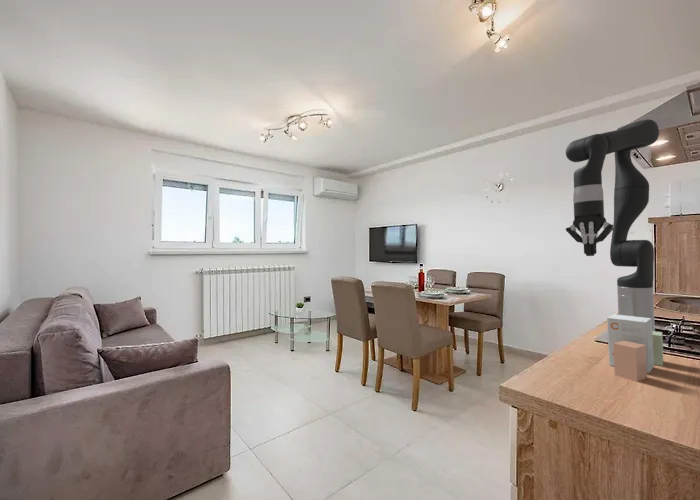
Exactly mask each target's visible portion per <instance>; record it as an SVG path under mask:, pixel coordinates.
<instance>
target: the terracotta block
mask: <svg viewBox="0 0 700 500" xmlns="http://www.w3.org/2000/svg"><path fill="white" fill-rule="evenodd" d="M613 367H614V376H615V377H616V376H617V377H618V378H619V377H620V378H623V379H627V380H630V381H633V382H636V383H638V382H640V381H643V380H645V379H647V377H648V376H647V375H648V373H647V369H646V345H643V344H638V343H633V342H628V341H620V342H617V343H614V366H613Z"/></svg>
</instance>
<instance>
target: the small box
mask: <svg viewBox="0 0 700 500" xmlns="http://www.w3.org/2000/svg"><path fill="white" fill-rule="evenodd" d="M606 321H607V323H606V324H607V345H608V346H607V347H608V364H609V366H612V367H614V343H617V342H620V341H628V342H633V343H638V344H643V345H646V369H647V374H650V372H651V371H652V370H653V368H654V367H655V365H654V353H653V333H652V318H644V317H635V316H626V315H618V314H615V313H614V314H611V315H610V316H608V317H607V318H606Z"/></svg>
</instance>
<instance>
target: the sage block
mask: <svg viewBox="0 0 700 500" xmlns="http://www.w3.org/2000/svg"><path fill="white" fill-rule="evenodd" d="M652 333H653V353H654V366H655V365H656V366H660V367H663V365H664V344H663V343H664V341H663V338H664V337H663V332H662V331H656V330H655V331H652Z"/></svg>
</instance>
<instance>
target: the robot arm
mask: <svg viewBox="0 0 700 500" xmlns="http://www.w3.org/2000/svg"><path fill="white" fill-rule="evenodd" d="M659 135H660V130H659V125H658V123H657V122H656V121H654V120H653V119H649V118H647V119H642V120H638V121H635V122H632V123H629V124H626V125H622V126H621V127H618V128H617V129H616V130H611V131H605V132H603V133H595V134H591V135H589V136H585V137H582V138H578V139H575V140H573V141H571V142H570V143H568V145H567V146H566V149H565V156H566V158H567V160H569V161H571V162H573V163H580V162H584V161H587V162H586V164H585V165H583V166H582V167H580V168H579V167H578V168H577V169H576V170H575V171H574V172H573V194H572V195H573V199H572V200H573V218H574V219H573V221H572V224H571V225H570V226H569V227H566V228H565V232H567V233H568V235H570V236H571V238H573V239H574V241H575V242H576V243H581V244H582V245H583V253H584V255H585V256H586V257H593V256H594V257H595V254H597V244H598V243H600V242H603V241H604V240H605V239H606V238H607V237H608V236H609V234H611V242H610V246H609V247H610V250H609V257H610V261H611V264H613V266H615V267H633V268H636V271H635V272H633V273H631V274H628V275H623V276H620V277H618V278H617V280H616V285H617V286H616V287H617V291H616V292H617V315H626V316H635V317H644V318H652V331H656V327H655V324H656V323H655V299H654V297H655V296H654V267H655V265H654V264H655V263H654V262H655V249H654V245H653V243H652V242H651V241H650V240H649V239H629V240H628V235H629V231H630V230H631V229H630V228H631V227H632V226H633V223H634V222H635V221H636V220H637V219H638V218H639V217H640V216H641V214H642V212H644V210H645V209H647V207H648V205H649V201H650V183H649V180H648V179H647V178H646V177H645V176H644V175H643V173H642V172H640V170H639V169H637V168H636V166H635V165H634V164H633V162H632V157H631V152H632V151H634V150H638V149H642V148H646V147H648V146H651V145H653V144H655V142H657V140H658V139H659ZM612 153H614V163H615V164H614V165H615V171H614V172H615V173H614V189H613V191H614V192H613V224H611V223H609V222H607V218H606V217H605V207H604V206H605V205H604V204H605V202H604V189H603V182H602V180H603V179H602V173H603V172H602V171H603V167H604V164H605V163H604V162H605V160H606V156H607V155H609V154H612ZM601 229H603V230H602V231H601V232H600V230H601ZM577 231H579V232H580V234H579V233H578V232H577ZM599 232H600V233H599Z"/></svg>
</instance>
